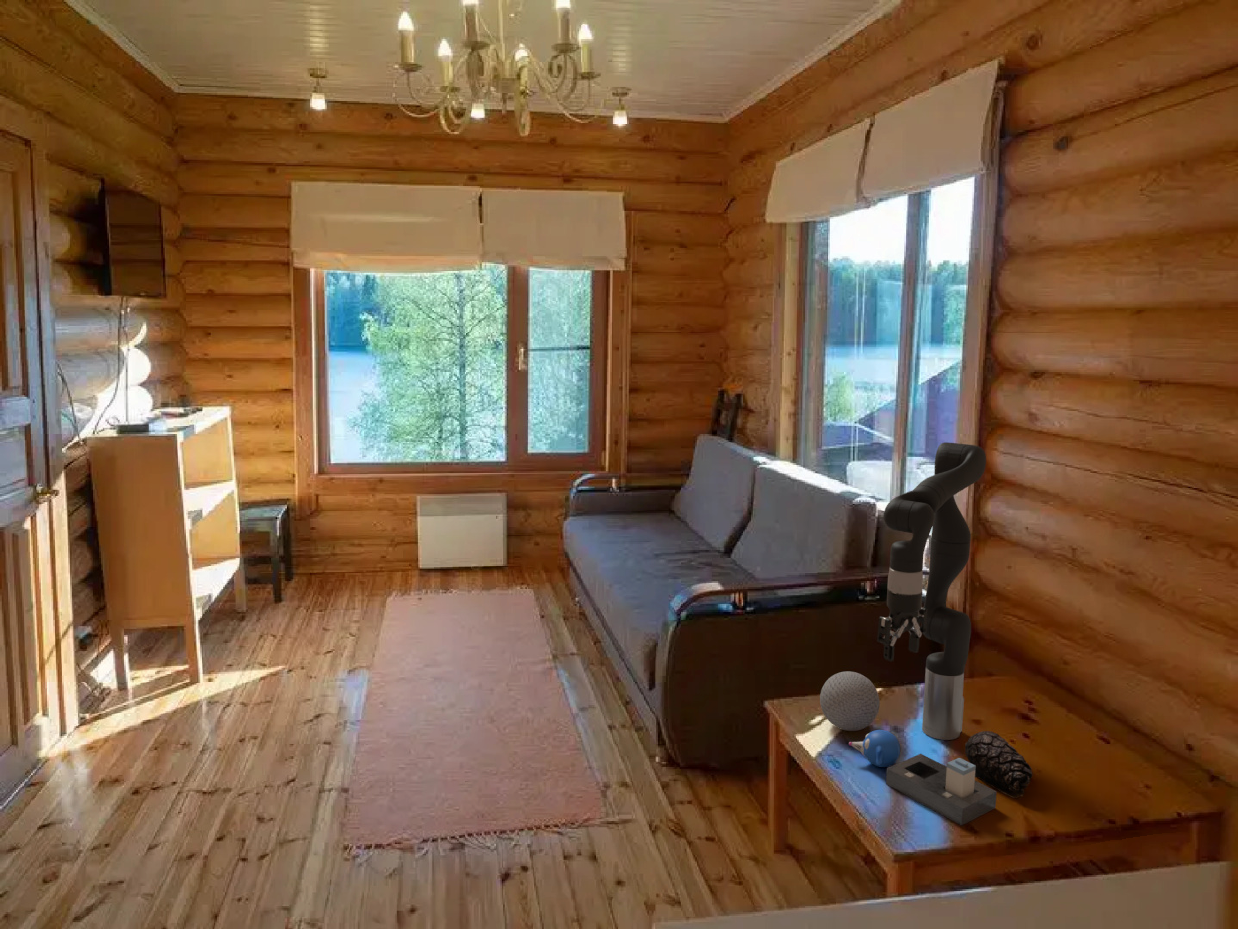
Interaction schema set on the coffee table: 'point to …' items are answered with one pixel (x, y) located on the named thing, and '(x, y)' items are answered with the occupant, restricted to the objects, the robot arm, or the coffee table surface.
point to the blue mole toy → (879, 748)
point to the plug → (960, 778)
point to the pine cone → (998, 763)
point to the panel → (938, 789)
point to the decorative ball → (849, 701)
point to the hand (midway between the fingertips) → (901, 655)
